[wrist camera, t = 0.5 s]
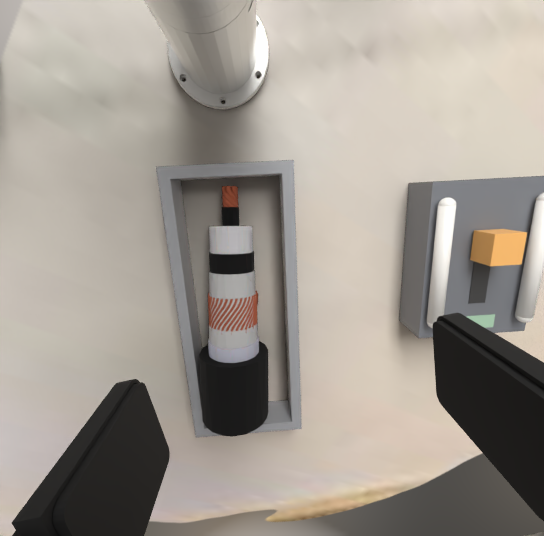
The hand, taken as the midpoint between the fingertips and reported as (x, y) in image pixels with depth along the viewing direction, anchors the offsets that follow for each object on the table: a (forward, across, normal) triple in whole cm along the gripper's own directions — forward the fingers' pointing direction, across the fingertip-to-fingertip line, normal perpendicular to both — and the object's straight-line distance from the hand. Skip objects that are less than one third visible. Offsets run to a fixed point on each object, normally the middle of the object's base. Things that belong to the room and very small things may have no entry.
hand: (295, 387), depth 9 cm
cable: (+35, +7, +9) cm, 37 cm away
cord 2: (+29, -35, +10) cm, 46 cm away
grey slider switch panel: (+35, -28, +9) cm, 46 cm away
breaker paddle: (+29, -29, +7) cm, 41 cm away
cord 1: (+29, -22, +8) cm, 37 cm away
